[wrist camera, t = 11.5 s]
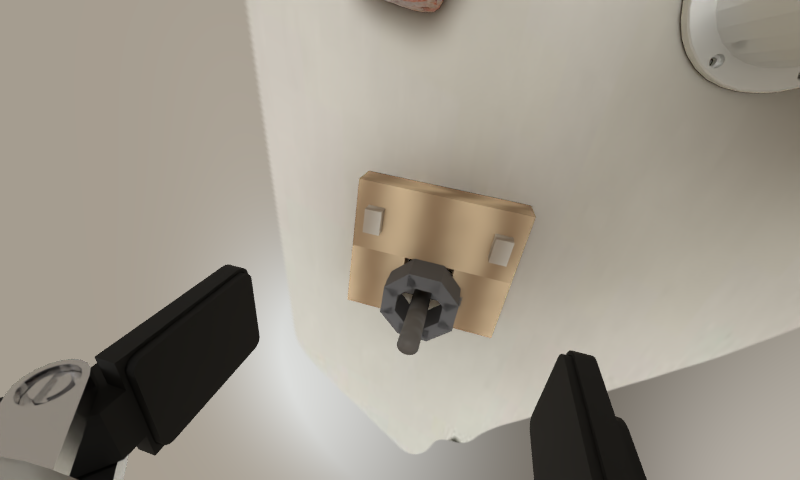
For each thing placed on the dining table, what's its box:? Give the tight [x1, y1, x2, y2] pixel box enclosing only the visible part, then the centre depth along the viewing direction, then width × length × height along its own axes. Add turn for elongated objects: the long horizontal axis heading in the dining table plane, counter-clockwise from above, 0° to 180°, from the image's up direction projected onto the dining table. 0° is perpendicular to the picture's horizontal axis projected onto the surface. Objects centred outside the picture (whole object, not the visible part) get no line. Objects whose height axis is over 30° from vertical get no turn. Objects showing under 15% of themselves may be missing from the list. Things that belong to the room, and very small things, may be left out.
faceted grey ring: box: [380, 259, 461, 341], centre depth 33 cm, size 7×7×3 cm
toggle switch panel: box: [348, 171, 536, 355], centre depth 31 cm, size 16×14×11 cm
